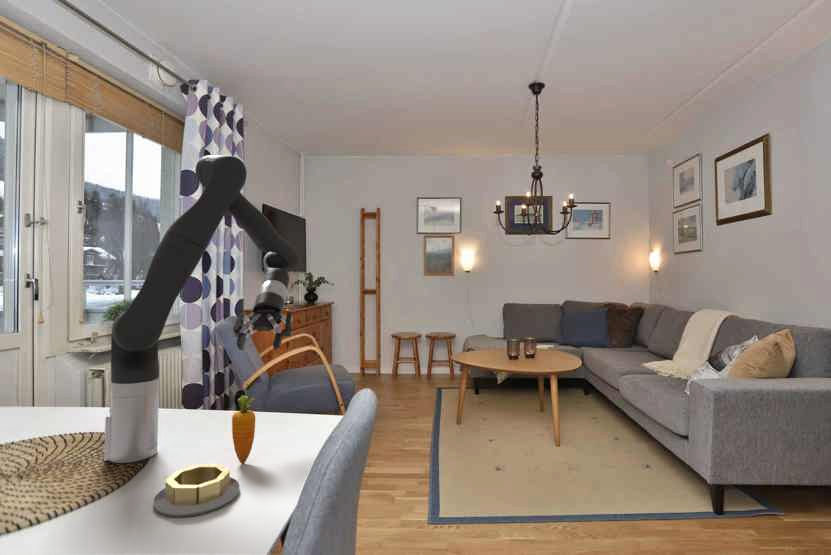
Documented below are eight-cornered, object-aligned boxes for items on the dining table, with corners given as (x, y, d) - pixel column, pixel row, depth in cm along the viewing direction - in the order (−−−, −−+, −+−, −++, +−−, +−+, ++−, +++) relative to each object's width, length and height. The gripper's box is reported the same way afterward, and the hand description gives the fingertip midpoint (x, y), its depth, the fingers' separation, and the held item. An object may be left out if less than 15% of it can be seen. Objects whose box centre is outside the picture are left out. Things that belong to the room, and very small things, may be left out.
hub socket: (136, 518, 72) (136, 494, 72) (177, 480, 86) (178, 460, 86) (221, 517, 73) (222, 493, 73) (249, 479, 87) (249, 459, 87)
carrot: (234, 459, 97) (236, 392, 97) (257, 458, 97) (258, 392, 98) (227, 468, 92) (228, 397, 92) (251, 468, 93) (252, 397, 93)
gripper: (241, 290, 117) (224, 338, 105) (294, 290, 117) (284, 338, 106) (247, 309, 122) (232, 357, 110) (298, 309, 123) (289, 356, 111)
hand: (257, 348), depth 108 cm, fingers open, 8 cm apart
